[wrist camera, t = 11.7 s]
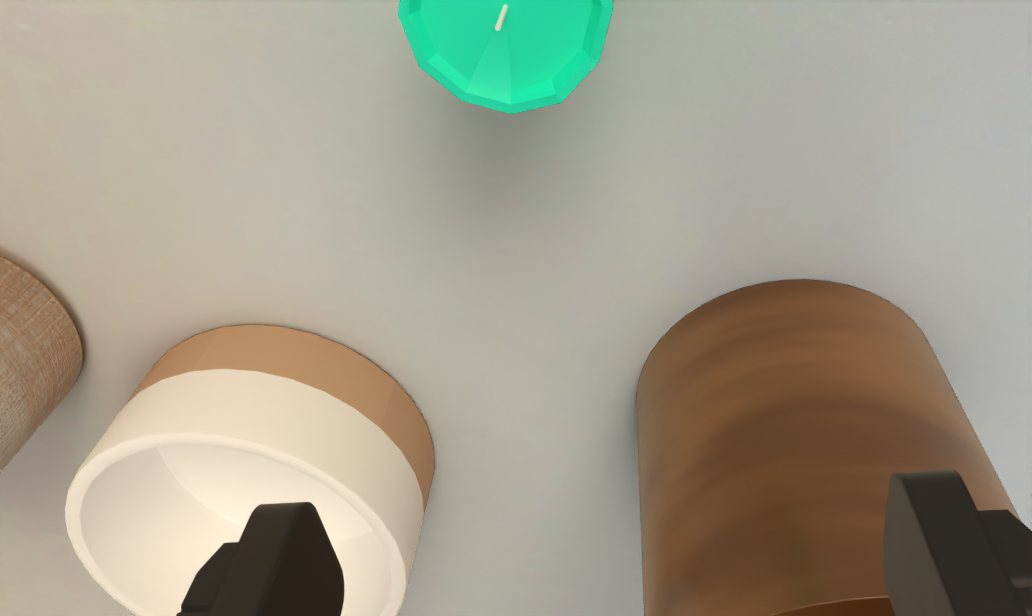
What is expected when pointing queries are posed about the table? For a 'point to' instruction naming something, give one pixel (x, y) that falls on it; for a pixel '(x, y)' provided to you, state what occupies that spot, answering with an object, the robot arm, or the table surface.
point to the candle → (507, 47)
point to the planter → (32, 356)
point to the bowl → (253, 466)
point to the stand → (789, 450)
